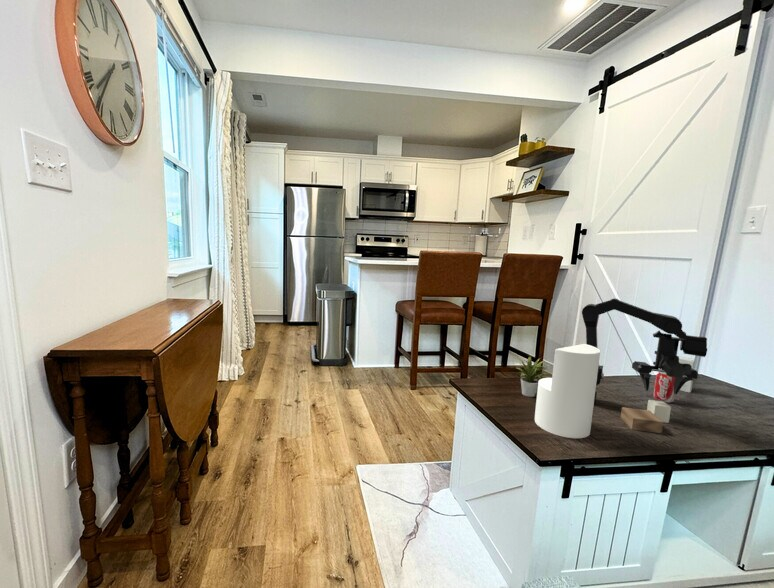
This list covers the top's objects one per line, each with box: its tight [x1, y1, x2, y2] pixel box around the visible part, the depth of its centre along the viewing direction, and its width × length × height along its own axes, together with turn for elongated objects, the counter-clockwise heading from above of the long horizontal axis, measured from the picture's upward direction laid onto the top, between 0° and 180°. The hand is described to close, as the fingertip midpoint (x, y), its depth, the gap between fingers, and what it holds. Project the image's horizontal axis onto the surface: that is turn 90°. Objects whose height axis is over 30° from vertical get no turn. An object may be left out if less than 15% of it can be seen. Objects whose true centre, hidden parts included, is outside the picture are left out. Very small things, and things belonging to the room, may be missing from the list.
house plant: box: [515, 355, 552, 398], centre depth 145 cm, size 14×14×16 cm
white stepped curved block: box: [534, 343, 601, 439], centre depth 120 cm, size 17×17×28 cm
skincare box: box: [679, 356, 696, 393], centre depth 161 cm, size 8×6×15 cm
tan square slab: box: [620, 406, 664, 434], centre depth 124 cm, size 9×9×4 cm
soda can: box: [653, 372, 676, 404], centre depth 147 cm, size 7×7×12 cm
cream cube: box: [646, 399, 672, 424], centre depth 130 cm, size 5×5×6 cm
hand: (660, 392), depth 129 cm, fingers open, 9 cm apart
